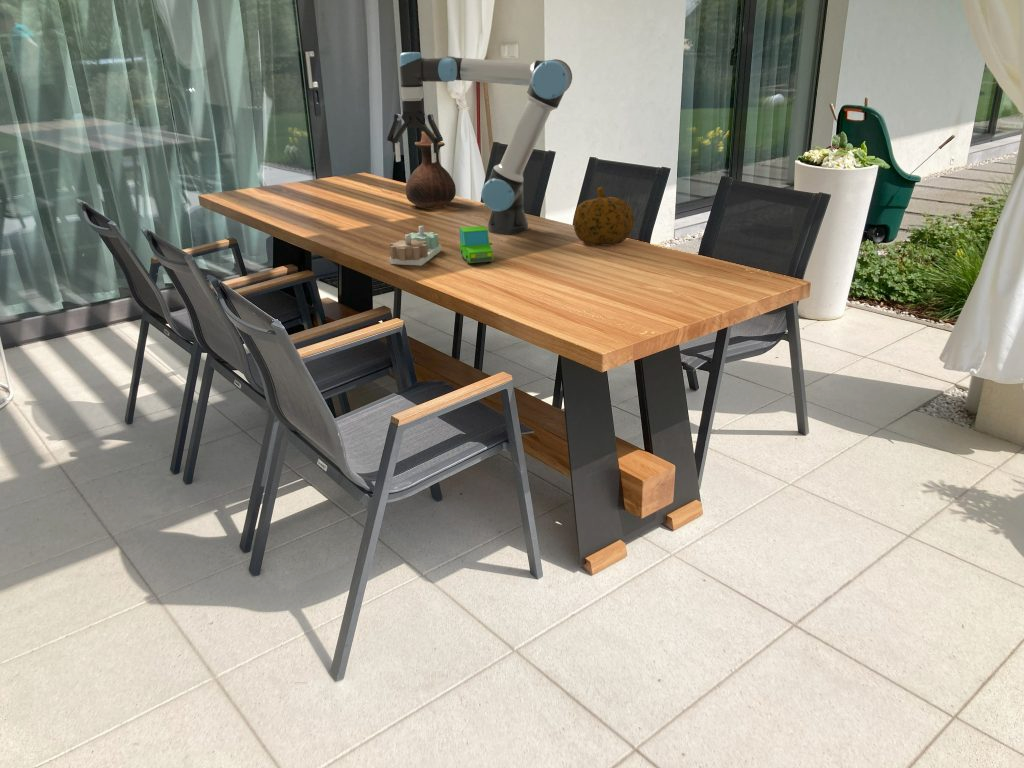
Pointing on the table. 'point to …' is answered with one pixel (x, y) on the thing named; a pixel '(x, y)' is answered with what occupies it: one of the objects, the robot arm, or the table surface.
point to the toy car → (475, 245)
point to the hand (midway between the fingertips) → (416, 161)
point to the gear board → (412, 251)
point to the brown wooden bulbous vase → (430, 180)
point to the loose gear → (426, 239)
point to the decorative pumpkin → (603, 220)
